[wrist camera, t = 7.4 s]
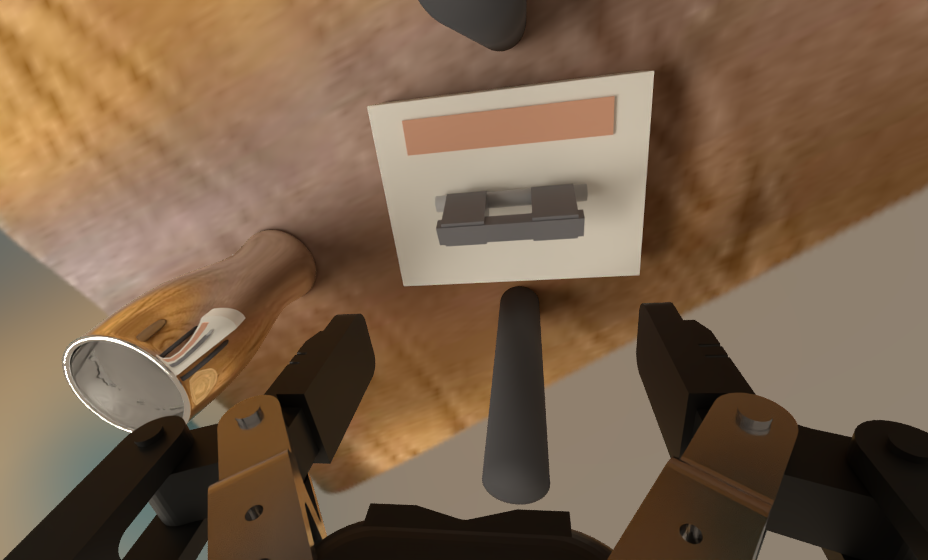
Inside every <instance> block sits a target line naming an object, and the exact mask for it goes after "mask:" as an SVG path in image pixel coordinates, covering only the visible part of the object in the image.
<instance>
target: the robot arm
mask: <svg viewBox="0 0 928 560" xmlns="http://www.w3.org/2000/svg"><path fill="white" fill-rule="evenodd" d="M636 357H637V365H638V370H639V374H640V377H641V379H642V382H643V384H644V387H645V390H646V393H647V395H648V398H649V400H650V403H651V406H652V409H653V412H654V414H655V417H656V420H657V422H658V425H659V428H660V430H661V433H662V435H663V438H664V441H665V444H666V446H667V449H668V452H669V455H670V457H671V459H670V460H669V461H668V462H667V464H666V465H665V467H664V468H663V470H662V472H661V474H660V475H659V477H658V478H657V480H656V482H655V483H654V485H653V486H652V488H651V489H650V491H649V493H648V495H647V496H646V498H645V499H644V501H643V502H642V504H641V506H640V507H639V509H638V510H637V512H636V514H635V515H634V517H633V519H632V520H631V522H630V523H629V525H628V527H627V528H626V530H625V532H624V533H623V535H622V537H621V538H620V540H619V541H618V543H617V545H616V546H615V548H614V549H611V548H610V547H609V546H607V545H605V544H604V543H601V542H600V541H598V540H596V539H595V538H593V537H591V536H588V535H586V534H584V533H582V532H578V531H575V530H572V529H571V522H570V513H569V512H564V511H541V510H540V511H539V510H513V511H508V512H503V513H499V514H494V515H489V516H484V517H479V518H475V519H469V520H461V519H458V518H454V517H451V516H448V515H445V514H442V513H439V512H435V511H432V510H429V509H426V508H423V507H420V506H417V505H395V504H370V506H369V509H368V512H367V515H366V518H365V520H364V521H361V522H357V523H355V524H351V525H348V526H346V527H344V528H342V529H340V530H338V531H336V532H334V533H332V534H330V535H329V536H327V533H326V530H325V527H324V523H323V519H322V516H321V512H320V509H319V505H318V501H317V498H316V494H315V491H314V487H313V484H312V480H311V477H310V475H309V473H308V471H309V470H310V468H311V466H312V464H313V463H328V464H330V463H331V461H332V459H333V457H334V455H335V453H336V451H337V449H338V447H339V445H340V443H341V441H342V439H343V436H344V434H345V432H346V430H347V428H348V426H349V424H350V422H351V420H352V418H353V416H354V414H355V412H356V410H357V408H358V406H359V404H360V401H361V399H362V397H363V395H364V393H365V391H366V389H367V387H368V385H369V383H370V381H371V379H372V377H373V374H374V370H375V355H374V351H373V348H372V344H371V340H370V336H369V333H368V329H367V325H366V321H365V319H364V317H363V315H361V314H343V315H336V316H334V318H333V319H332V320H331V322H330V323H329V324H328V326H327V327H326V328H325V330H324V331H320V332H318V333H317V334H316V335H314V336H313V337H311V338H310V339H309V340H307V341H306V342H305V343H304V345H303V346H302V347H301V348H300V350H299V351H298V352H297V355H295V356H294V357H293V358H292V360H291V361H290V364H289V365H287V366H286V367H285V369H284V370H283V371H282V372H281V374H280V375H279V376H278V378H277V379H276V380H275V381H274V383H273V384H272V385H271V386H270V388H269V389H268V390H267V391H266V393H265V394H264V395H259V396H254V397H251V398H248V399H246V400H243V401H241V402H239V403H238V404H236V405H235V406H233V407H232V408H230V409H229V410H228V411H227V412H226V413H225V414H224V415H223V416H222V418H221V419H220V421H219V423H218V424H214V425H210V426H206V427H201V428H197V429H193V430H189V428H188V426H187V424H186V423H185V421H184V419H183V418H182V417H180V416H165V417H161V418H158V419H155V420H152V421H150V422H148V423H146V424H144V425H142V426H140V427H139V428H137V429H136V430H134V431H133V432H131V433H130V434H129V435H128V436H127V437H126V438H124V440H123V441H121V442H120V443H119V444H118V445H117V447H115V448H114V449H113V450H112V451H111V452H110V453H109V454H108V455H107V456H106V457H105V459H103V461H101V462H100V463H99V465H97V466H96V467H95V468H94V469H93V470H92V471H91V472H90V474H88V475H87V476H86V477H85V478H84V479H83V480H82V481H81V482H80V483H79V484H78V485H77V486H76V487H75V488H74V489H73V490H72V491H71V492H70V493H69V494H68V495H67V496H66V498H64V499H63V500H62V501H61V502H60V503H59V505H57V506H56V507H55V508H54V509H53V510H52V511H51V512H50V513H49V514H48V515H47V516H46V517H45V518H44V519H43V520H42V521H41V522H40V523H39V524H38V525H37V526H36V527H35V528H34V529H33V530H32V531H31V532H30V533H29V534H28V535H27V536H26V537H25V538H24V539H23V540H22V541H21V542H20V543H19V544H18V545H17V546H16V547H15V548H14V549H13V550H12V551H11V552H10V553H9V554H8V555H7V556H6V557H5V558H4V559H3V560H121V559H120V557H119V553H118V547H119V543H120V540H121V537H122V535H123V533H124V532H125V530H126V529H127V528H128V527H129V525H130V524H131V523H132V522H133V520H134V519H135V518H136V517H137V515H138V514H139V513H140V512H141V510H142V509H143V508H144V507H145V505H146V504H147V503H148V502H149V504H150V505H151V506H152V508H153V509H154V511H155V512H156V514H157V515H156V516H155V517H154V519H153V520H152V521H151V523H150V524H149V525H148V527H147V528H146V529H145V531H144V532H143V533H142V534H141V536H140V537H139V538H138V540H137V541H136V542H135V544H134V545H133V546H132V548H131V549H130V550H129V552H128V553H127V554H126V556H125V557H124V558H123V559H122V560H196V559H197V557H198V555H199V554H200V552H201V550H202V549H203V547H204V545H205V544H206V542H207V540H208V560H757V558H758V555H759V552H760V550H761V547H762V544H763V541H764V538H765V535H766V532H767V530H768V531H771V532H774V533H778V534H781V535H784V536H787V537H790V538H793V539H797V540H800V541H803V542H806V543H810V544H812V545H816V546H819V547H821V548H822V550H823V551H824V553H825V555H826V557H827V559H828V560H928V433H927V432H925V431H922V430H920V429H918V428H915V427H912V426H909V425H906V424H902V423H898V422H892V421H885V420H872V421H866V422H863V423H861V424H860V425H858V426H857V428H856V429H855V431H854V434H853V436H852V437H848V436H843V435H838V434H834V433H829V432H824V431H820V430H815V429H810V428H807V427H803V426H800V425H797V423H796V421H795V419H794V418H793V416H792V415H791V414H790V413H789V412H788V411H787V410H785V409H784V408H783V407H781V406H780V405H778V404H777V403H775V402H773V401H771V400H769V399H766V398H764V397H761V396H758V395H756V394H755V393H754V392H753V390H752V389H751V387H750V386H749V384H748V383H747V382H746V380H745V379H744V377H743V376H742V375H741V373H740V372H739V370H738V369H737V367H736V366H735V364H734V363H733V362H732V360H731V359H730V358H729V357H728V355H727V353H726V352H725V350H724V349H723V347H722V346H720V343H719V342H718V340H717V339H716V337H715V336H714V334H713V333H712V332H711V330H709V329H708V328H706V327H705V326H703V325H701V324H700V323H699V322H697V321H695V320H683V319H682V318H681V316H680V314H679V313H678V311H677V309H676V308H675V306H674V305H673V303H671V302H665V303H642V304H641V306H640V310H639V322H638V335H637V348H636Z"/></svg>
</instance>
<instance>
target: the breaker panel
mask: <svg viewBox="0 0 928 560" xmlns="http://www.w3.org/2000/svg"><path fill="white" fill-rule="evenodd" d="M653 82H654V71H643V70H640V71H632V72H624V73H616V74H608V75H600V76H592V77H584V78H576V79H568V80H560V81H552V82H544V83H536V84H528V85H520V86H512V87H504V88H496V89H488V90H480V91H472V92H464V93H456V94H448V95H440V96H432V97H424V98H416V99H408V100H400V101H392V102H384V103H379V104H375V105H371V106H367V108H368V113H369V118H370V123H371V128H372V133H373V138H374V143H375V148H376V153H377V158H378V162H379V167H380V172H381V177H382V182H383V187H384V192H385V197H386V202H387V207H388V211H389V216H390V221H391V226H392V231H393V236H394V241H395V246H396V251H397V256H398V261H399V265H400V270H401V275H402V280H403V285H404V286H420V285H441V284H462V283H483V282H504V281H526V280H547V279H568V278H589V277H610V276H631V275H639V274H640V260H641V247H642V233H643V219H644V205H645V192H646V178H647V164H648V150H649V137H650V123H651V109H652V95H653ZM561 184H573V185H575V184H587V190H588V197H587V201H579V202H577V207H578V210H581V209H583V212H584V217H585V223H584V236H579V237H578V238H574V239H558V240H542V241H533V239H532V240H516V241H501V242H487V244H479V245H463V246H447V247H446V245H440V243H439V239H438V235H437V231H436V226H437V221H438V220H442V216H443V212H437V211H436V206H435V197H436V196H444V195H447V194H454V193H466V192H478V191H487V192H492V191H504V190H516V189H528V188H531V187H537V186H549V185H561ZM527 213H532V205H527V206H514V207H501V208H489V216H500V215H513V214H527Z"/></svg>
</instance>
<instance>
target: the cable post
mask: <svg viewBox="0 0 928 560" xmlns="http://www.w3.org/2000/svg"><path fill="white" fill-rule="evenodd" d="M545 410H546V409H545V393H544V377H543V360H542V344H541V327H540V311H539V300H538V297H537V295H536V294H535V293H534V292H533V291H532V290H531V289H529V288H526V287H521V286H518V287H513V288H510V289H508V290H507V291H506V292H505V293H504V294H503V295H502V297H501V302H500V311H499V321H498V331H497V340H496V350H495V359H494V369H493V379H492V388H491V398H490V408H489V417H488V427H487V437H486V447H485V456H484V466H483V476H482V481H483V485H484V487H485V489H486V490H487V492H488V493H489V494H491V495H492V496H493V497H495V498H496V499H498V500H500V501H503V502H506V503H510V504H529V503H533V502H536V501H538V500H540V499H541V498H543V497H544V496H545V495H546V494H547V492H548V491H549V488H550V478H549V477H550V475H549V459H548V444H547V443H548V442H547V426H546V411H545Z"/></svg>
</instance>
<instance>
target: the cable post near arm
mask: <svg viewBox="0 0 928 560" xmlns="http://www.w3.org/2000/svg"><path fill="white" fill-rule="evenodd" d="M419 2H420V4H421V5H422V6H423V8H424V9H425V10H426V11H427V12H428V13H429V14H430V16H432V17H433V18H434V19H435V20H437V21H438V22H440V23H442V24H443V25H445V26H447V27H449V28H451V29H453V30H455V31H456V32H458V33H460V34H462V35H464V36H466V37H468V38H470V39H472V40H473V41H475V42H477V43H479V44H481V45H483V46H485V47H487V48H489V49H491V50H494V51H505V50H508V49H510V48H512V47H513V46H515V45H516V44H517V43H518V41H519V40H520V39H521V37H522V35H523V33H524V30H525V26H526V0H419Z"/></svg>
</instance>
